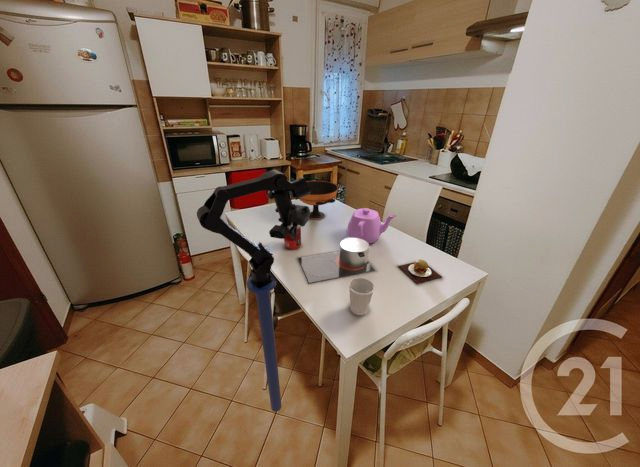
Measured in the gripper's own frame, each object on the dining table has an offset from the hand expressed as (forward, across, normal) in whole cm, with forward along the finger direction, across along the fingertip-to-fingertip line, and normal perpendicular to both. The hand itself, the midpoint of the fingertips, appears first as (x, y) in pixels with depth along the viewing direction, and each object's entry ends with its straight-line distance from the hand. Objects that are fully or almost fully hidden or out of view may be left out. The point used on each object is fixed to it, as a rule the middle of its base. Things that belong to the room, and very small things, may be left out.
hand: (294, 238), depth 103 cm
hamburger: (+23, +17, -44) cm, 52 cm away
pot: (+18, +12, -18) cm, 28 cm away
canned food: (+14, +11, +12) cm, 22 cm away
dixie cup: (+15, -14, -30) cm, 36 cm away
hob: (+16, +6, -12) cm, 21 cm away
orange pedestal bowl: (+21, +46, +20) cm, 54 cm away
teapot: (+23, +35, -15) cm, 44 cm away
